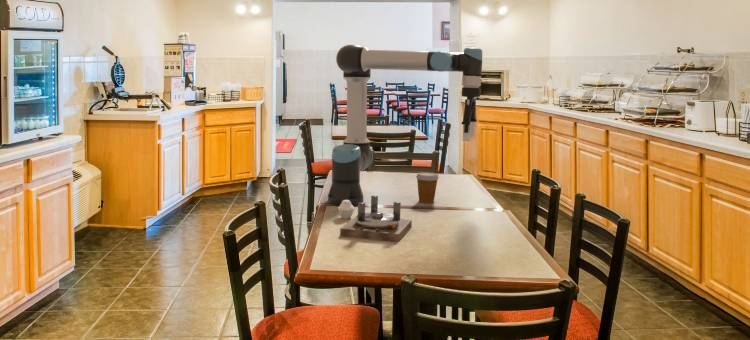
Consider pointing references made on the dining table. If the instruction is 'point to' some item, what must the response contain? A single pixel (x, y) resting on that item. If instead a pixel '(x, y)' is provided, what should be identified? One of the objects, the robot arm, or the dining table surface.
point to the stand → (376, 231)
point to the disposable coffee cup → (427, 186)
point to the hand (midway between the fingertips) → (468, 139)
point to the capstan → (377, 216)
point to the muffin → (346, 209)
